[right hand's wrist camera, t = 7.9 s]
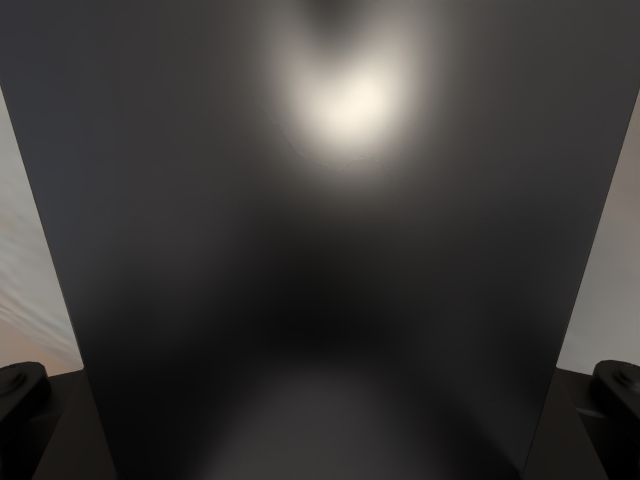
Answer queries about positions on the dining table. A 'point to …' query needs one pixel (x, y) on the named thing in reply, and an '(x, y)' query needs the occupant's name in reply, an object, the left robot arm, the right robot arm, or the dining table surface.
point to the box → (320, 220)
